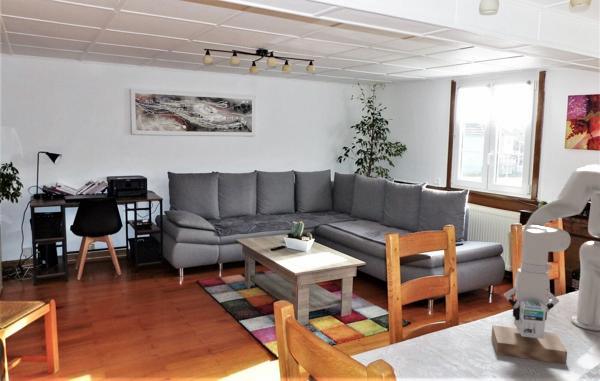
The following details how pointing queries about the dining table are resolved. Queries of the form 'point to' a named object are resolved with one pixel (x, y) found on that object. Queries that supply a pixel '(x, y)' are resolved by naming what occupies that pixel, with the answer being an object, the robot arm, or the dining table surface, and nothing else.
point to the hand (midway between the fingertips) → (529, 320)
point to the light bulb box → (531, 319)
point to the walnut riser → (528, 345)
